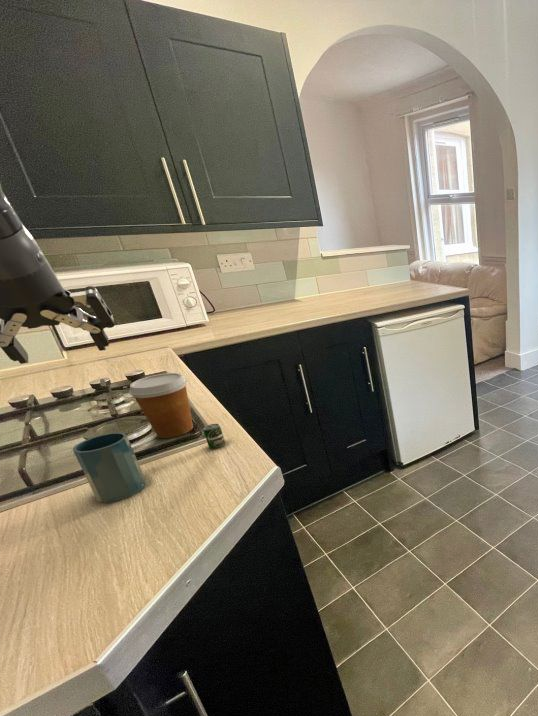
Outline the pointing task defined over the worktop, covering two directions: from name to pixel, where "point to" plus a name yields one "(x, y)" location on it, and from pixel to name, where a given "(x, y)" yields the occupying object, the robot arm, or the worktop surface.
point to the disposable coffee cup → (164, 403)
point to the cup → (110, 466)
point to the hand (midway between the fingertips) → (64, 353)
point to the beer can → (214, 436)
